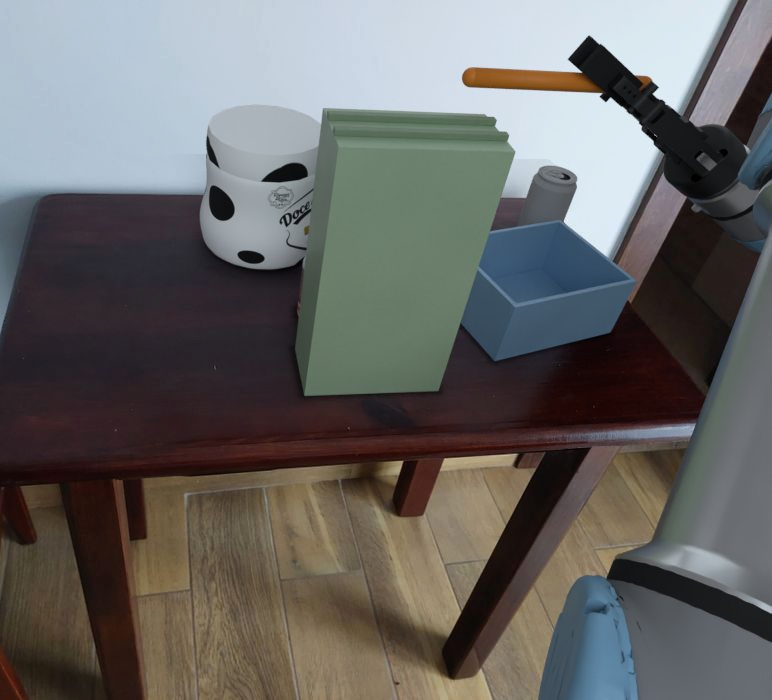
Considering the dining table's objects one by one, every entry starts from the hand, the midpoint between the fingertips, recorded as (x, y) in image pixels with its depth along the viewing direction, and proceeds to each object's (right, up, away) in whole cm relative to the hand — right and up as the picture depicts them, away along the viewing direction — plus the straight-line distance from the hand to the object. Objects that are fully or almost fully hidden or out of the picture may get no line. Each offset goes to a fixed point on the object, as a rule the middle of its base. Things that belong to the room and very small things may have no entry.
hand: (585, 53), depth 65 cm
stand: (-20, -31, +16) cm, 40 cm away
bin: (+3, -23, +28) cm, 36 cm away
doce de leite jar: (-33, -14, +34) cm, 49 cm away
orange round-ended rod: (-2, -3, +2) cm, 4 cm away
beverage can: (+9, -12, +42) cm, 45 cm away
